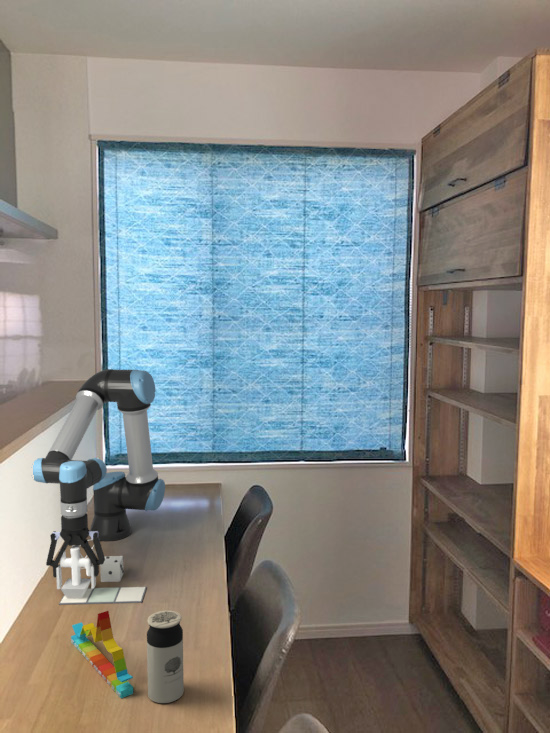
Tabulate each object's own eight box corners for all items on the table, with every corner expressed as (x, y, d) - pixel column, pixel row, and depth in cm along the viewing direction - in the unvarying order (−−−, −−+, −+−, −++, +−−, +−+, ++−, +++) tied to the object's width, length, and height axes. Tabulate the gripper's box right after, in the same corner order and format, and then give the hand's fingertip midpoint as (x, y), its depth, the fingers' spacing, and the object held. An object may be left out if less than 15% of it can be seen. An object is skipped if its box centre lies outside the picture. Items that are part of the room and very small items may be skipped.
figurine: (89, 600, 192) (87, 551, 190) (57, 600, 192) (55, 551, 190) (95, 589, 199) (94, 542, 198) (65, 589, 199) (63, 542, 198)
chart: (70, 643, 170) (68, 588, 168) (82, 639, 172) (80, 584, 170) (120, 700, 146) (118, 636, 144) (133, 694, 148) (131, 631, 146)
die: (104, 574, 212) (104, 554, 211) (124, 573, 212) (124, 554, 211) (100, 582, 205) (100, 563, 205) (121, 582, 206) (120, 562, 205)
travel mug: (144, 688, 150) (142, 613, 148) (178, 680, 153) (177, 606, 151) (152, 708, 143) (151, 629, 141) (187, 699, 146) (186, 622, 144)
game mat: (67, 589, 200) (67, 588, 200) (146, 587, 202) (146, 586, 202) (58, 604, 190) (58, 603, 190) (141, 602, 192) (141, 601, 192)
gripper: (32, 519, 189) (35, 593, 191) (109, 517, 190) (111, 591, 192) (40, 510, 196) (42, 582, 198) (114, 509, 197) (116, 580, 200)
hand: (76, 586), depth 195 cm, fingers closed on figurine, 9 cm apart
